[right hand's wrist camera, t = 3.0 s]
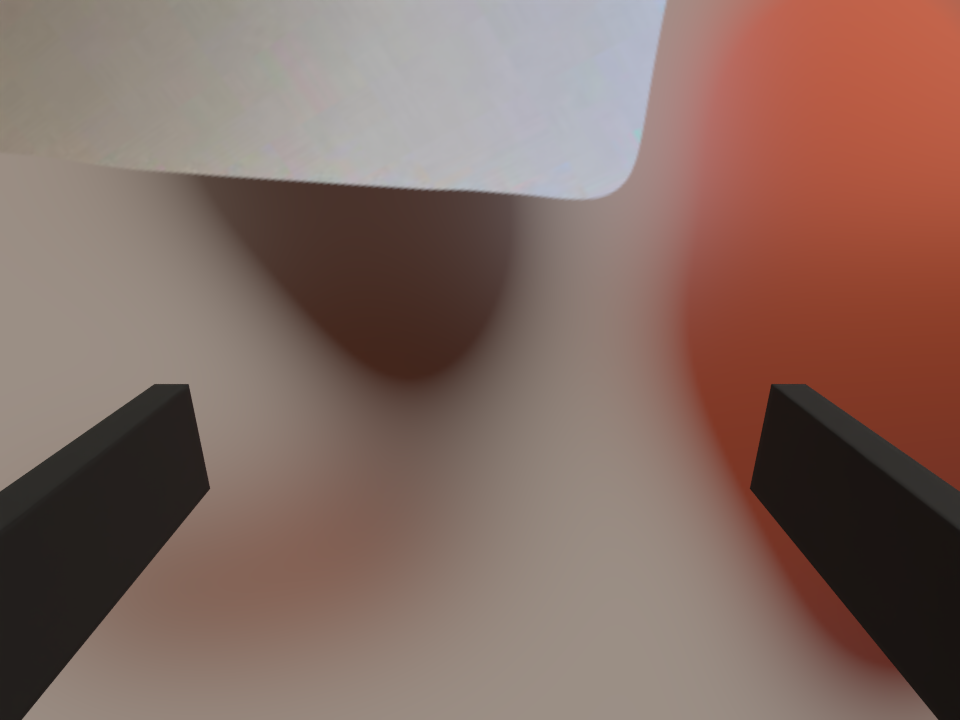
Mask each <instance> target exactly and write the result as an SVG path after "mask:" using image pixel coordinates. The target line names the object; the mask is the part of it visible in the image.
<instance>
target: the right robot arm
mask: <svg viewBox="0 0 960 720" xmlns="http://www.w3.org/2000/svg"><path fill="white" fill-rule="evenodd" d="M209 489H210V486H209V481H208V476H207V471H206V467H205V462H204V457H203V452H202V447H201V442H200V438H199V433H198V428H197V423H196V418H195V413H194V408H193V403H192V399H191V394H190V389H189V385H188V384H154V385H153V386H151V387H150V388H148V389H147V390H146V391H144V392H143V393H141V394H140V395H138V396H137V397H136V398H134V399H133V400H131V401H130V402H128V403H127V404H125V405H124V406H123V407H121V408H120V409H118V410H117V411H115V412H114V413H113V414H111V415H110V416H108V417H107V418H105V419H104V420H102V421H101V422H100V423H98V424H97V425H95V426H94V427H93V428H91V429H90V430H88V431H87V432H85V433H84V434H82V435H81V436H79V437H78V438H77V439H75V440H74V441H72V442H71V443H69V444H68V445H67V446H65V447H64V448H62V449H61V450H59V451H58V452H56V453H55V454H54V455H52V456H51V457H49V458H48V459H46V460H45V461H44V462H42V463H41V464H39V465H38V466H36V467H35V468H34V469H32V470H31V471H29V472H28V473H26V474H25V475H23V476H22V477H21V478H19V479H18V480H16V481H15V482H13V483H12V484H11V485H9V486H8V487H6V488H5V489H3V490H2V491H1V492H0V720H22V719H23V717H24V716H25V715H26V714H27V712H28V711H29V710H30V709H31V708H32V706H33V705H34V704H35V703H36V701H37V700H38V699H39V698H40V697H41V695H42V694H43V693H44V692H45V690H46V689H47V688H48V687H49V685H50V684H51V683H52V682H53V681H54V679H55V678H56V677H57V676H58V674H59V673H60V672H61V671H62V670H63V668H64V667H65V666H66V665H67V663H68V662H69V661H70V660H71V659H72V657H73V656H74V655H75V654H76V652H77V651H78V650H79V649H80V647H81V646H82V645H83V644H84V642H85V641H86V640H87V639H88V638H89V636H90V635H91V634H92V633H93V631H94V630H95V629H96V628H97V627H98V625H99V624H100V623H101V622H102V620H103V619H104V618H105V617H106V616H107V614H108V613H109V612H110V611H111V609H112V608H113V607H114V606H115V605H116V603H117V602H118V601H119V600H120V598H121V597H122V596H123V595H124V594H125V592H126V591H127V590H128V589H129V587H130V586H131V585H132V584H133V582H134V581H135V580H136V579H137V578H138V576H139V575H140V574H141V573H142V571H143V570H144V569H145V568H146V567H147V565H148V564H149V563H150V562H151V560H152V559H153V558H154V557H155V555H156V554H157V553H158V552H159V551H160V549H161V548H162V547H163V546H164V544H165V543H166V542H167V541H168V540H169V538H170V537H171V536H172V535H173V533H174V532H175V531H176V530H177V528H178V527H179V526H180V525H181V524H182V522H183V521H184V520H185V519H186V517H187V516H188V515H189V514H190V513H191V511H192V510H193V509H194V508H195V506H196V505H197V504H198V503H199V502H200V500H201V499H202V498H203V497H204V495H205V494H206V493H207V492H208V491H209ZM750 489H751V491H752V492H753V493H754V494H755V495H756V497H757V498H758V499H759V500H760V502H761V503H762V504H763V505H764V506H765V508H766V509H767V510H768V511H769V513H770V514H771V515H772V516H773V517H774V519H775V520H776V521H777V522H778V524H779V525H780V526H781V527H782V529H783V530H784V531H785V532H786V533H787V535H788V536H789V537H790V538H791V540H792V541H793V542H794V543H795V544H796V546H797V547H798V548H799V549H800V551H801V552H802V553H803V554H804V555H805V557H806V558H807V559H808V560H809V562H810V563H811V564H812V565H813V567H814V568H815V569H816V570H817V571H818V573H819V574H820V575H821V576H822V578H823V579H824V580H825V581H826V582H827V584H828V585H829V586H830V587H831V589H832V590H833V591H834V592H835V594H836V595H837V596H838V597H839V598H840V600H841V601H842V602H843V603H844V605H845V606H846V607H847V608H848V609H849V611H850V612H851V613H852V614H853V616H854V617H855V618H856V619H857V620H858V622H859V623H860V624H861V625H862V627H863V628H864V629H865V630H866V632H867V633H868V634H869V635H870V636H871V638H872V639H873V640H874V641H875V643H876V644H877V645H878V646H879V647H880V649H881V650H882V651H883V652H884V654H885V655H886V656H887V657H888V659H889V660H890V661H891V662H892V663H893V665H894V666H895V667H896V668H897V670H898V671H899V672H900V673H901V674H902V676H903V677H904V678H905V679H906V681H907V682H908V683H909V684H910V685H911V687H912V688H913V689H914V690H915V692H916V693H917V694H918V695H919V697H920V698H921V699H922V700H923V701H924V703H925V704H926V705H927V706H928V708H929V709H930V710H931V711H932V712H933V714H934V715H935V716H936V717H937V719H938V720H960V491H958V490H957V489H955V488H954V487H952V486H951V485H949V484H948V483H947V482H945V481H944V480H942V479H941V478H939V477H938V476H936V475H935V474H934V473H932V472H931V471H929V470H928V469H926V468H925V467H924V466H922V465H921V464H919V463H918V462H916V461H915V460H914V459H912V458H911V457H909V456H908V455H906V454H905V453H904V452H902V451H901V450H899V449H898V448H896V447H895V446H893V445H892V444H891V443H889V442H888V441H886V440H885V439H883V438H882V437H880V436H879V435H878V434H876V433H875V432H873V431H872V430H870V429H869V428H868V427H866V426H865V425H863V424H862V423H860V422H859V421H857V420H856V419H855V418H853V417H852V416H850V415H849V414H847V413H846V412H845V411H843V410H842V409H840V408H839V407H837V406H836V405H835V404H833V403H832V402H830V401H829V400H827V399H826V398H825V397H823V396H822V395H820V394H819V393H817V392H816V391H814V390H813V389H812V388H810V387H809V386H807V385H806V384H772V385H771V389H770V394H769V399H768V403H767V408H766V413H765V418H764V423H763V428H762V433H761V438H760V442H759V447H758V452H757V457H756V462H755V467H754V471H753V476H752V481H751V486H750Z"/></svg>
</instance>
